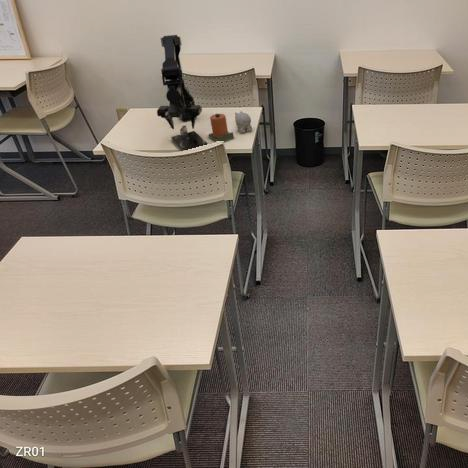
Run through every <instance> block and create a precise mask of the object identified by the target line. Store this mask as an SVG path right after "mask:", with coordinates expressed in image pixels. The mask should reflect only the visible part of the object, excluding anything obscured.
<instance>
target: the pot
mask: <svg viewBox="0 0 468 468" xmlns="http://www.w3.org/2000/svg"><path fill="white" fill-rule="evenodd" d="M209 118H210V119H209V120H210V126H211V133H213V136H215V137H220V136H223V135H225V134H228V132H229V130H228V124H227V118H226V114H224V113H215V114H212V115H210V116H209Z"/></svg>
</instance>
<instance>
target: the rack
mask: <svg viewBox="0 0 468 468" xmlns="http://www.w3.org/2000/svg"><path fill="white" fill-rule="evenodd" d="M207 136H208V139H210V140H211V141H213V142H215V143H216V141H224V142H223V143H225V142H228V141H232V140H235V137H234V132H233V131H232V132H229V131H228V134H225V135H223V136H220V137H215V136H213V132H210V133H208V134H207Z"/></svg>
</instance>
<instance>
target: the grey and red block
mask: <svg viewBox="0 0 468 468" xmlns="http://www.w3.org/2000/svg"><path fill="white" fill-rule="evenodd" d="M179 132H180V135H181V138H185V137H186V135H187V134H188V127H187V125H182V126H181V127H180V129H179Z"/></svg>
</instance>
